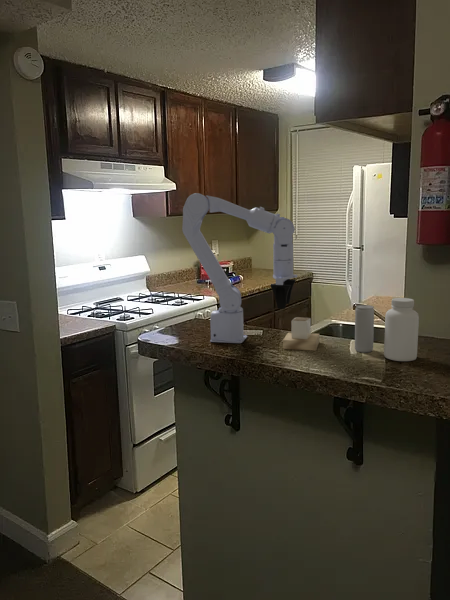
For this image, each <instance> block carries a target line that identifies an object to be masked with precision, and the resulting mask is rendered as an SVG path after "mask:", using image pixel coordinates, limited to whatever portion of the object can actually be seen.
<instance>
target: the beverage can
mask: <svg viewBox="0 0 450 600" xmlns="http://www.w3.org/2000/svg"><path fill="white" fill-rule="evenodd" d="M354 311H355V312H354V313H355V315H354V316H355V317H354V349H355V352H358V353H371V352H373V351H374V335H375V334H374V329H375V325H374V324H375V308H374V306H373V305H368V304H359V305H356V306H355V309H354Z"/></svg>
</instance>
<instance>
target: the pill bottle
mask: <svg viewBox="0 0 450 600" xmlns="http://www.w3.org/2000/svg"><path fill="white" fill-rule="evenodd" d="M414 306H415V299H413V298H408V297H394V298H392V299H391V305H390V309H388V310H387V311H386V312H385V316H384V317H385V318H384V320H385V321H384V340H383V341H384V345H383V356H384V357H385V358H386V359H388V360H392V361H396V362H411V361H415V360H416V359H417V357H418V346H419V345H418V343H419V341H418V340H419V339H418V338H419V321H420V318H419V317H420V316H419V313H418V312H417V311H416V310H415V309H414Z"/></svg>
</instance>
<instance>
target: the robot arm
mask: <svg viewBox="0 0 450 600" xmlns="http://www.w3.org/2000/svg"><path fill="white" fill-rule="evenodd" d="M208 212H209V213H217V212H218V213H219V212H221V213H224V214H227V215H230V216H233V217H236V218H238V219H241V220H244V221H246V223H247V224H248V227H250V228H253V229H256V230H257V231H261V232H263V233H265V234H266V233H267V234H273V246H272V247H273V250H272V251H273V255H272V256H273V257H272V259H273V261H272V262H273V263H272V266H273V270H272V271H273V274H272V278H273V279H274V280H275V283H271V284H270V288H271V290H272V293H273V295H274V298H275V299H274V300H275V302H276V303H275V305H276V307H277V309H283V310H284V309H286V306H287V305H290V303H291V297H292V292H293V291H292V290H293V287H294V285H295V283H296V278H298V274H294V243H293V241H294V238H293V235H294V233H295V231H296V230H295V229H296V228H295V225H294V223H293V222H292V220H291V219H289V218H287V217H284V216H281V214H280V213H276V214H275V213H273V212H269V211H268V210H265V207H262V206H259V207H253V208H252V209H248V208H245V207H243V206H240V205H237V204H235V203H232V202H231V201H228V200H226V199H223V198H220V197H216V196H211V195H203V194H202V193H198V192H195V193H192V194H190V195H189V196H188V197H187V198H186V201H185V202H184V205H183V208H182V231H181V232H182V233H183V235H184V237H185V239H186V240H187V242H188V244H189V245H190V247H191V250H192V251H193V252H194V254H195V256H196V257H197V259H198V261H199V263H200V265H201V266H202V268H203V269H204V271H205V272H206V275H207V276H208V278H209V280H210V281H211V283H212V285H213V287H214V290H215V292H216V294H217V296H218V298H219V299H218V301H219V306H220V307H219V308H218V310H217V309H216V310H212V311H211V314H210V319H209V322H210V323H209V324H210V326H209V327H210V340H209V341H210V343H225V344H227V343H228V344H242V343H243V342H244V341H245V340H246V339H247V338H248V335H246V334H244V308H243V307H242V306H241V305H242V302H243V301H242V292H241V291H240V289H239V288H238V287H236V286H234V285H233V283H232V282H231V280H230V279H229V277H228V275H227V274H226V273H225V270H224V269H223V267H222V265H221V263H220V262H219V260H218V259H217V257H216V256H215V254H214V252H213V250H212V248H211V246H210V245H209V243H208V242H207V240H206V238H205V236H204V234H203V233H202V231H201V227H202V223H203V221H204V218H205V217H206V215H207V213H208ZM294 278H295V279H294Z"/></svg>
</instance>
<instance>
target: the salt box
mask: <svg viewBox="0 0 450 600" xmlns="http://www.w3.org/2000/svg"><path fill="white" fill-rule="evenodd" d="M311 320H312V319H311V317H299V316H297V317H294V318H293V319H292V320H291V321H290V322H291V329H290V330H291V332H290V333H291V334H292V338H295V339H308V338H309V337H310V336H311V331H312V328H311V326H312V325H311V324H312V321H311Z"/></svg>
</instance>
